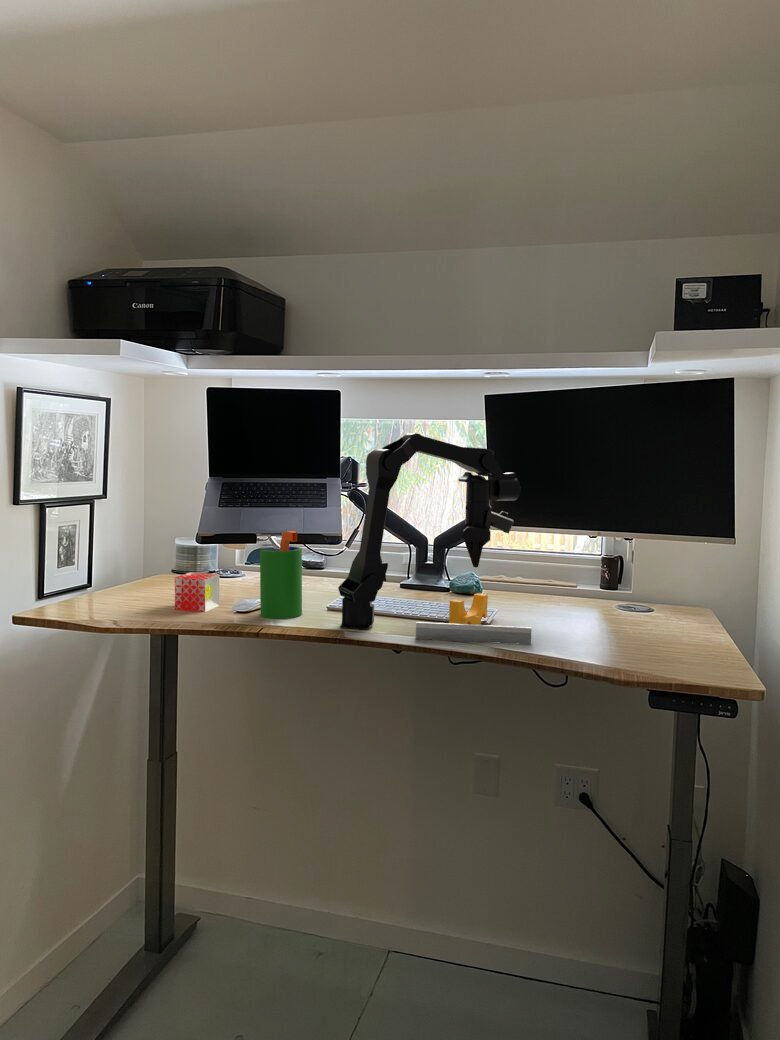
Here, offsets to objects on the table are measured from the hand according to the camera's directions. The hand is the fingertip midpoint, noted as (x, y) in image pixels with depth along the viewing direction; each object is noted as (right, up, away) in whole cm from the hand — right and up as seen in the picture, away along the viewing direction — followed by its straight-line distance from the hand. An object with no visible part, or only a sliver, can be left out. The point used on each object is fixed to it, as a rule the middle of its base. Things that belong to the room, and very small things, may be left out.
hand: (475, 566), depth 191 cm
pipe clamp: (-2, -13, -9) cm, 16 cm away
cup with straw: (-46, -12, -3) cm, 47 cm away
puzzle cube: (-67, -11, +3) cm, 68 cm away
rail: (-3, -14, -23) cm, 28 cm away
